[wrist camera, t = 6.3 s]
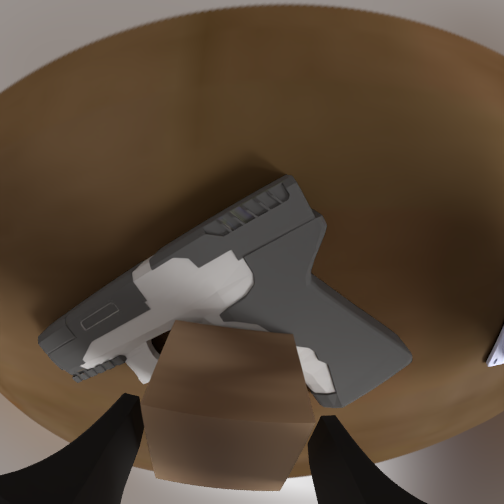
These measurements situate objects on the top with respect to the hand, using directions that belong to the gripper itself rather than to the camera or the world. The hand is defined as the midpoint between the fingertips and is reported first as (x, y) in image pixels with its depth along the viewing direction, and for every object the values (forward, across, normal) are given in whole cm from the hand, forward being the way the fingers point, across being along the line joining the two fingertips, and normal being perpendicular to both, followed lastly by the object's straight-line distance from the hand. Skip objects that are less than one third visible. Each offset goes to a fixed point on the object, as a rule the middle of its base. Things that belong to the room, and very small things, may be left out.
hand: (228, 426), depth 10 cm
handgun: (+6, +1, 0) cm, 6 cm away
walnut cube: (+3, 0, 0) cm, 3 cm away
